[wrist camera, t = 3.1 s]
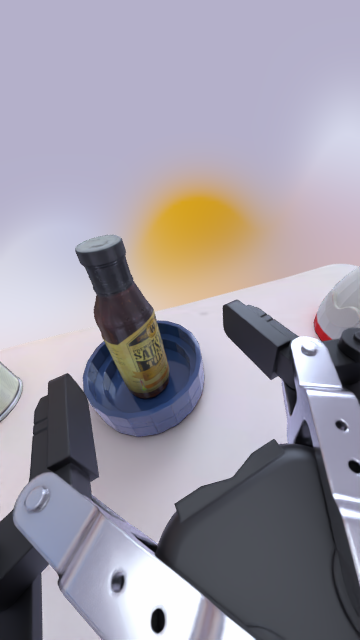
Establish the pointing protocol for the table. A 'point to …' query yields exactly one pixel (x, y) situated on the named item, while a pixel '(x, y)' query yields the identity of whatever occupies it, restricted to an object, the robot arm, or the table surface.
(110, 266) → the sauce bottle
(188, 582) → the robot arm
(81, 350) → the table surface
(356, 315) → the kitchen timer
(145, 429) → the bowl
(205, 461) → the table surface
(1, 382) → the coffee can
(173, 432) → the table surface
